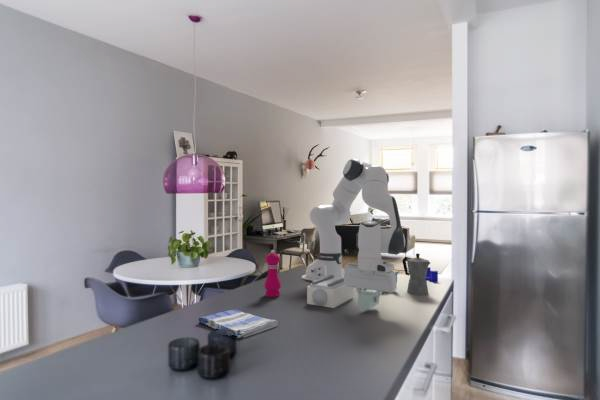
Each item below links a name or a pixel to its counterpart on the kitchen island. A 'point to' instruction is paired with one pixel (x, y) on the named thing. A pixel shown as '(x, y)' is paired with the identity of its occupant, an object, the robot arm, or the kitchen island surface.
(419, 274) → the coffeepot
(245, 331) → the dish towel
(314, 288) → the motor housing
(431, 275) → the cable clip
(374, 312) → the kitchen island surface
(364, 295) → the pale green block
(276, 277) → the pepper mill
